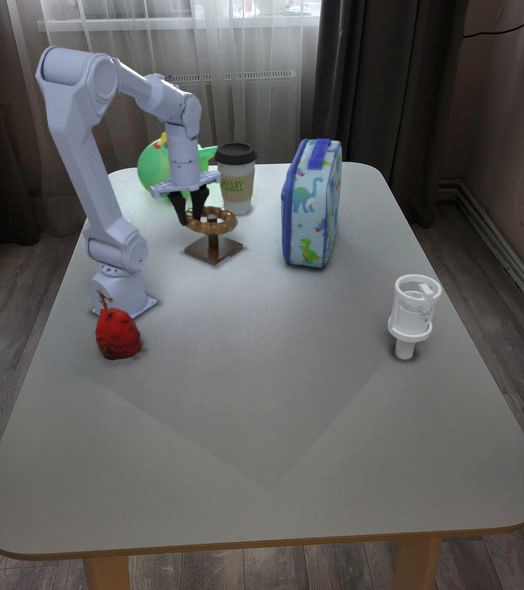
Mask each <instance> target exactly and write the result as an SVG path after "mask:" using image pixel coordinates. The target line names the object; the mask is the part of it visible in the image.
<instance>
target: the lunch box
mask: <svg viewBox="0 0 524 590" xmlns="http://www.w3.org/2000/svg"><path fill="white" fill-rule="evenodd" d="M342 168H343V150H342V143H341V141H339V140H331V139H330V138H316V139H309V138H304V139H303V140H301V142H300V144H299V145H298V148H297V150H296V153H295V155H294V157H293V159H292V162H291V163H290V165H289V167H288V169H287V171H286V175H285V181H284V183H283V185H282V189H281V193H280V213H281V214H280V216H281V217H280V218H281V250H282V257H283V260H284V263H285V264H286V266H290V265H298V266H299V265H300V266H301V265H302V266H307V267H313V268H318V269H322V268H325V267H326V266H327V264H328V261H329V260H330V256H331V253H332V248H333V245H334V241H335V237H336V234H337V229H338V217H339V215H338V213H339V204H340V198H341V186H342V173H343V172H342V171H343V169H342Z"/></svg>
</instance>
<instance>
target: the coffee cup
mask: <svg viewBox="0 0 524 590" xmlns="http://www.w3.org/2000/svg"><path fill="white" fill-rule="evenodd" d="M217 146H218V147H217V150H216V152H215V155H214V156H213V158H214V160H215V161H216V166H217V168H216V169H217V170H216V171H218V172H219V173H220V174H221V183H219V187H220V188H219V189H220V193H221V198H222V202H223V208H224V209H226V210H228V211H230V212H232V213H234V215H235V216H243V215H247V214H248V213H249V212H250V211H251V205H252V197H253V193H254V182H255V172H256V167H255V165H256V160H257V159H258V154H257V151H256V150H255V146H254V145H253V144H251V143H250V142H245V141H238V140H237V141H236V140H233V141H227V142H222V143H220V144H219V145H217Z"/></svg>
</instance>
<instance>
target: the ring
mask: <svg viewBox="0 0 524 590" xmlns="http://www.w3.org/2000/svg"><path fill="white" fill-rule="evenodd" d="M185 212H186V221H187V225H186V226H184V227H185V228H187V229H189V230H190V231H192V232H194V233H198V234H201V235H202V234H203V235H221V236H222V235H224V234H228V233H231V232H233V231H234V230H235V229H236V227H237V226H238V224H239V220H238V217H236V216H237V215H234V213H232V212H230V211H228V210H226V209H225V208H224V207H220V206H214V205H204V207H203V211H202V216H201V218H207V215H209V214H215V215H217V220H221V222H218V223H208V222H207V221H202V220H201V221H199V220H197V219H195V218H194V217H193V212H192V207H188V208H187V209H185Z"/></svg>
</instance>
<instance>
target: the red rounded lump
mask: <svg viewBox="0 0 524 590" xmlns="http://www.w3.org/2000/svg"><path fill="white" fill-rule="evenodd" d="M97 292H98V293H100V294H99V295H100V297H101V299H102V301H103V304H102V305H103V309H102V310H101V311H100V316H99V317H98V320H97V322H96V327H95V330H94V335H95V341H96V344H97V346H98V348H99V351H100V353H101V354H102V356H103V358H104V359H106V360H109V361H116V360H117V361H118V360H125V359H129V358H132V357H134V356H136V355H137V353H138V352H140V351H141V350H142V342H141V332H140V331H139V329H138V326H137V324H136V322H135V320H134V319H133V318H131V317H130V316H129V314H128V313H127V312H125V311H123V310H120V309H118V308H109V309H108V308H107V303H106V302H105V299H104V298H106V299H108V301H109V302H110V303H113V299H112V298H108V297H106V296H105V295H104V294H103V293H102V292H101V287H100V292H99V291H98V290H97ZM100 297H99V299H100ZM99 299H98V300H99Z"/></svg>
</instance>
